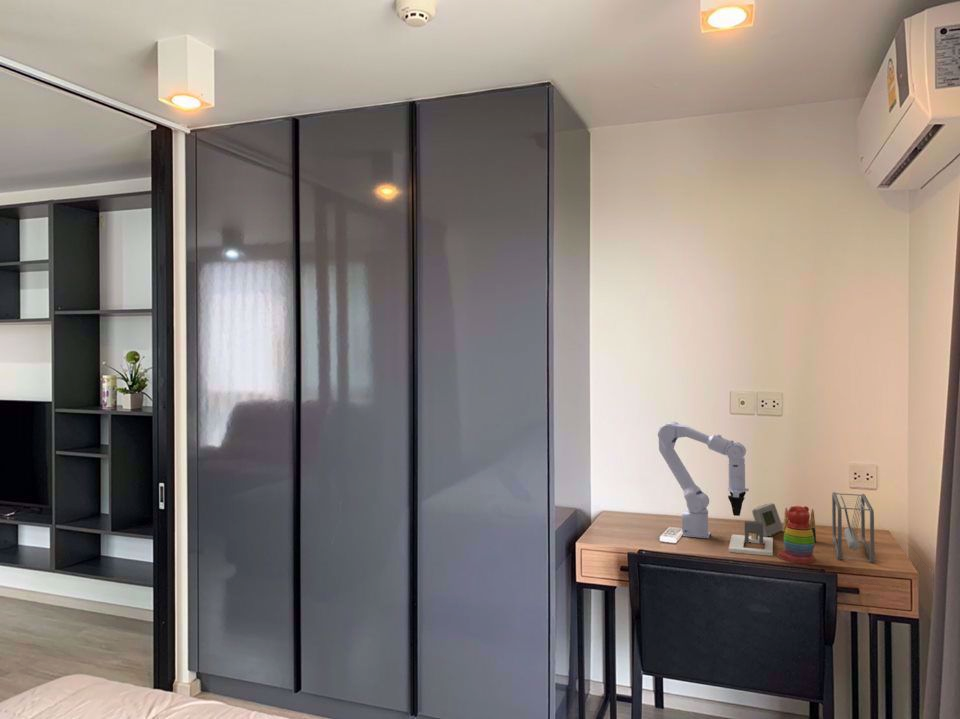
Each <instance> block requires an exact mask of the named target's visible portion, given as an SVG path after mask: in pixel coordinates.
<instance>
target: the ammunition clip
mask: <svg viewBox="0 0 960 719" xmlns="http://www.w3.org/2000/svg"><path fill="white" fill-rule="evenodd" d="M788 510H789V509H788V507H785V509H784V517H783V534H784V533H785V529H786V526H787V524H788V523H789V522H790V521H789V519H788V517H787V512H788ZM809 511H810V512H809ZM809 511H808V512H809V513H810V519H809V521H808V523H807V524H809V525H810V527H811V529H812V531H813V536H814V541H815V542H814V543H817V537H816V535H817V534H816V519H815V511H814V509H813V508H811V510H809ZM782 539H783V540H784V537H783V538H782Z"/></svg>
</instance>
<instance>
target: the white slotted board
mask: <svg viewBox="0 0 960 719" xmlns="http://www.w3.org/2000/svg"><path fill="white" fill-rule="evenodd" d="M750 534H751V535H749V542H751V544H759V535H758V534H756V533H750ZM730 537H731V538H730V542H729V545H728V552H729V553H737V554H747V555H756V556H757V555H758V556H770V557H773V556H774V555H773V554H774V551H773V550H774V549H773V548H774V547H773V546H774V538H773V537H763V544H762V545H764V549H763V548H752V547H745V534H744V535H743V534H733V533H732V534H731V536H730ZM764 543H765V544H764Z"/></svg>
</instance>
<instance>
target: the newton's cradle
mask: <svg viewBox="0 0 960 719" xmlns="http://www.w3.org/2000/svg"><path fill="white" fill-rule="evenodd" d="M838 495H839V496H840V499H841V501H842V505H843V507H842V506H841V504H840V500H839V499H838ZM843 496H850V498H851V499H850V500H851V501H849V500H848V503H847V502H846V503H845V500H844V497H843ZM852 496H856V497H852ZM852 498H855V499H852ZM852 500H853V501H852ZM854 500H855V505H854V508H853V507H852V508H851V507H849V505H851V504H852V503H854ZM856 500H857V501H856ZM851 502H852V503H851ZM831 504H832V505H831V506H832V508H831V513H832V516H831V519H832V521H831V523H832V527H831V528H832V530H831V531H832V540H833V545H834V548H835V554H836V556H837V559H838V560H839V559H840V560H839V561H841V560H851V561H862V562H863V561H864V562H870V564H871V563H872V564H874V562H875V512H874V509H873V506H872V505H871V503H870V501H869V500H868V497H867V496H866V495H865V493H861V494H855V493H854V494H853V493H841V492H839V493H837V492H836V491H832V494H831ZM848 504H849V505H848ZM847 506H848V507H847ZM865 506H866V507H867V508H865ZM842 509H843V510H844V513H845V517H846V522H847V528H845V529H844V532H842V531H843V530H842V527H843V525H842V523H843V522H842V521H843V520H842V518H843V517H842ZM836 510H837V511H836ZM848 510H852V511H853V510H854V511H853V514H854V515H852V520H851V523H850V519H849V514H848ZM865 511H869V535H870V536H869V537H870V538H869V547H868V544H867V542H866V535H865V534H866V530H865V528H866V526H865V523H866V522H865V520H866V518H865V517H866V516H865V515H866V513H865ZM836 517H837V518H836ZM836 521H837V522H836ZM859 524H860V525H859ZM836 525H837V526H836ZM859 526H861V528H860V529H861V532H860V533H861V535H860V537H861V538H860V539H861V540H860V539H859V537H858V535H857V534H858V529H859ZM842 534H844V537H845V539H843V537H842V536H843V535H842ZM845 540H846V543H847V546H848V548H849V549H850V550H851V551H858V550H859V549H860V548H861V543H862V545H863V548H864V550H865V553H866V555H867V557H868V559H862V558H861V559H859V558H851V557H843V546H842V545H843V541H845Z"/></svg>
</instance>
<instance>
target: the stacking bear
mask: <svg viewBox="0 0 960 719" xmlns="http://www.w3.org/2000/svg"><path fill="white" fill-rule="evenodd" d="M787 510H788V512H787V517H788V519H789V521H790V522H789V523H788V524H787V526H786V529H785V533H784V532H783V538H784V539H783V546H784V549H785V550H780V551H779V552H778V555H777V556H778V557H779V558H781V560H785V561H786V562H787V561H788V562H790V563H795V564H796V563H797V564H812V563H813V562H815V555H814V554H813V552H814V548H815V545H816V544H815V543H816V542H815V541H814V536H813V531H812V529H811V527H810V525H809V524H807V523H808V521H809V520H810V519H811V513H810V512H808V511H810V508H809V507H808V506H800V505H795V506H790V507H789V509H787Z"/></svg>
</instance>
